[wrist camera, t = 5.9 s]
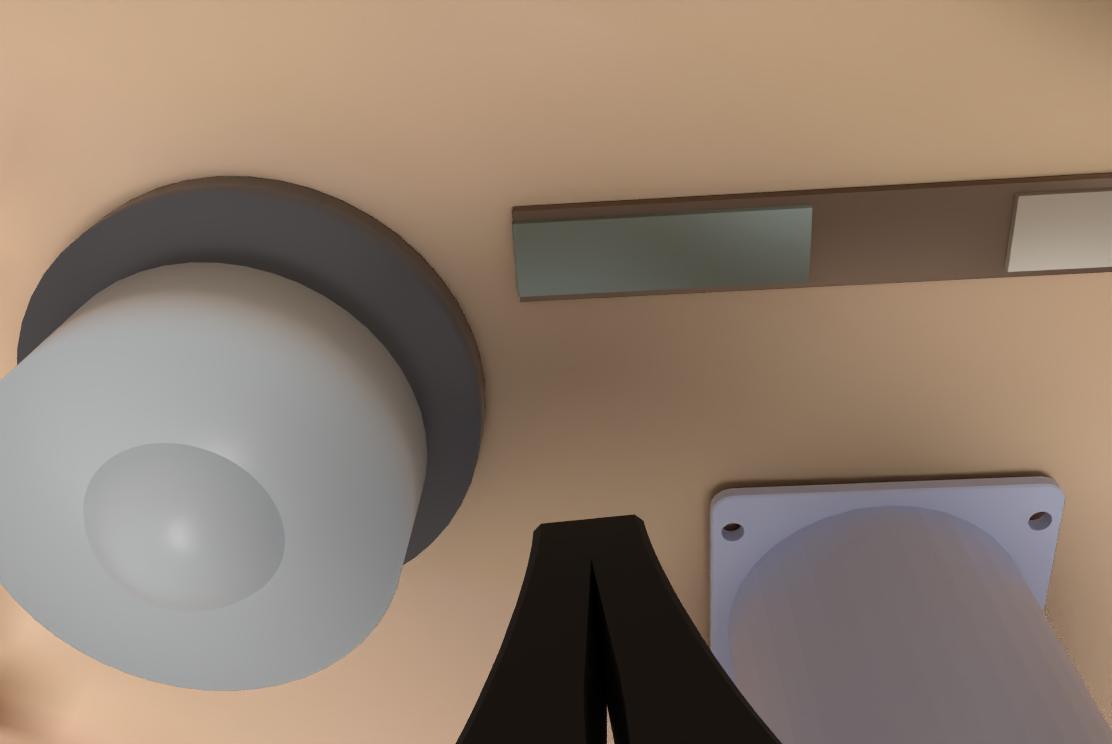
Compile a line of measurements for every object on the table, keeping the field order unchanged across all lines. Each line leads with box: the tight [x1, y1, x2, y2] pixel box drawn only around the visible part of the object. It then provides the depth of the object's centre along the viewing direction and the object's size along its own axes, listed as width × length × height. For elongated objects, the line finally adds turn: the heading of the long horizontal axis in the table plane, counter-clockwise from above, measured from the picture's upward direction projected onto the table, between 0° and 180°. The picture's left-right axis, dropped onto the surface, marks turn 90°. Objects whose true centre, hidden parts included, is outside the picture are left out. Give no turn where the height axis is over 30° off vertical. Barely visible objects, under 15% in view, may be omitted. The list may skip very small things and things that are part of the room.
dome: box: [0, 262, 427, 691], centre depth 19 cm, size 8×8×4 cm
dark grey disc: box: [17, 177, 486, 565], centre depth 23 cm, size 10×10×1 cm
